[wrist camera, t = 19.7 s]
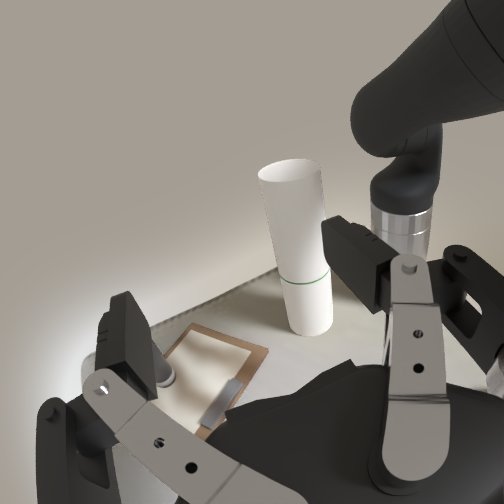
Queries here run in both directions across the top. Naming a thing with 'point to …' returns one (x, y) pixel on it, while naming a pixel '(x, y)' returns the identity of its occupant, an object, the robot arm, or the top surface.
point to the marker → (162, 369)
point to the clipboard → (207, 378)
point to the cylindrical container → (299, 242)
